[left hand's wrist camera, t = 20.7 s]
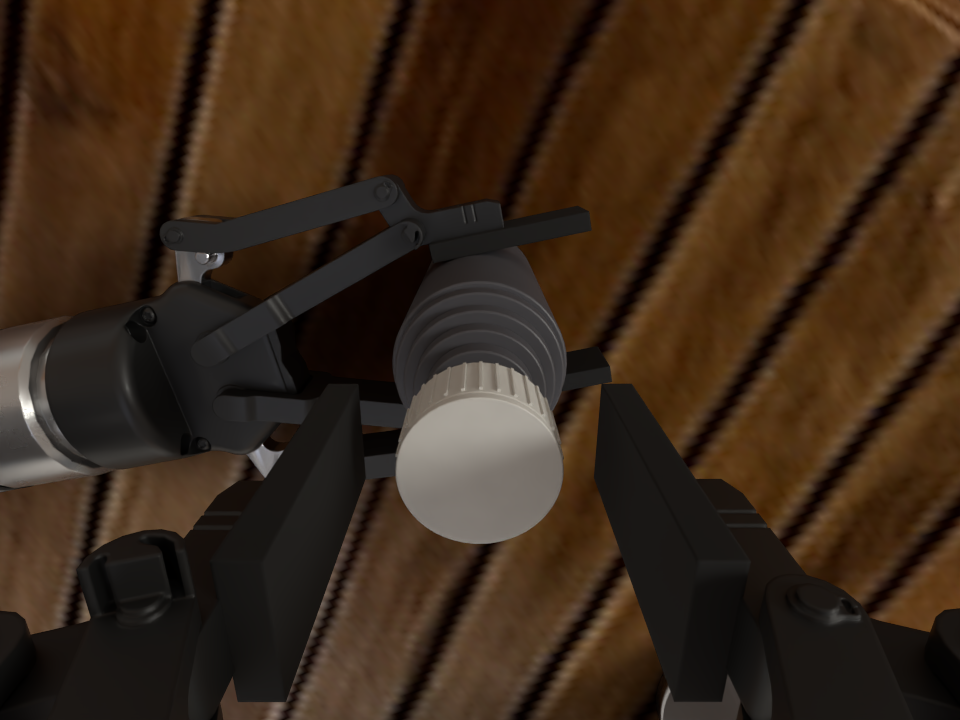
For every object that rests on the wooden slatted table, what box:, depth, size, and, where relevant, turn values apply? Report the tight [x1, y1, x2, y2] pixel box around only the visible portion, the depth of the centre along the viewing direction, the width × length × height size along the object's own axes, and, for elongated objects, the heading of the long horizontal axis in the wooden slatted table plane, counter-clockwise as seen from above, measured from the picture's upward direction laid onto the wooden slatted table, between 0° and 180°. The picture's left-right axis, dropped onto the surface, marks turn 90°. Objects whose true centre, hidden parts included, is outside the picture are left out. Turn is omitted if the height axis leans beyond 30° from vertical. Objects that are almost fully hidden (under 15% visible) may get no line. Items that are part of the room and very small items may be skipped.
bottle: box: [392, 246, 567, 411], centre depth 22 cm, size 6×6×19 cm
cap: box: [395, 361, 564, 544], centre depth 13 cm, size 4×4×2 cm
